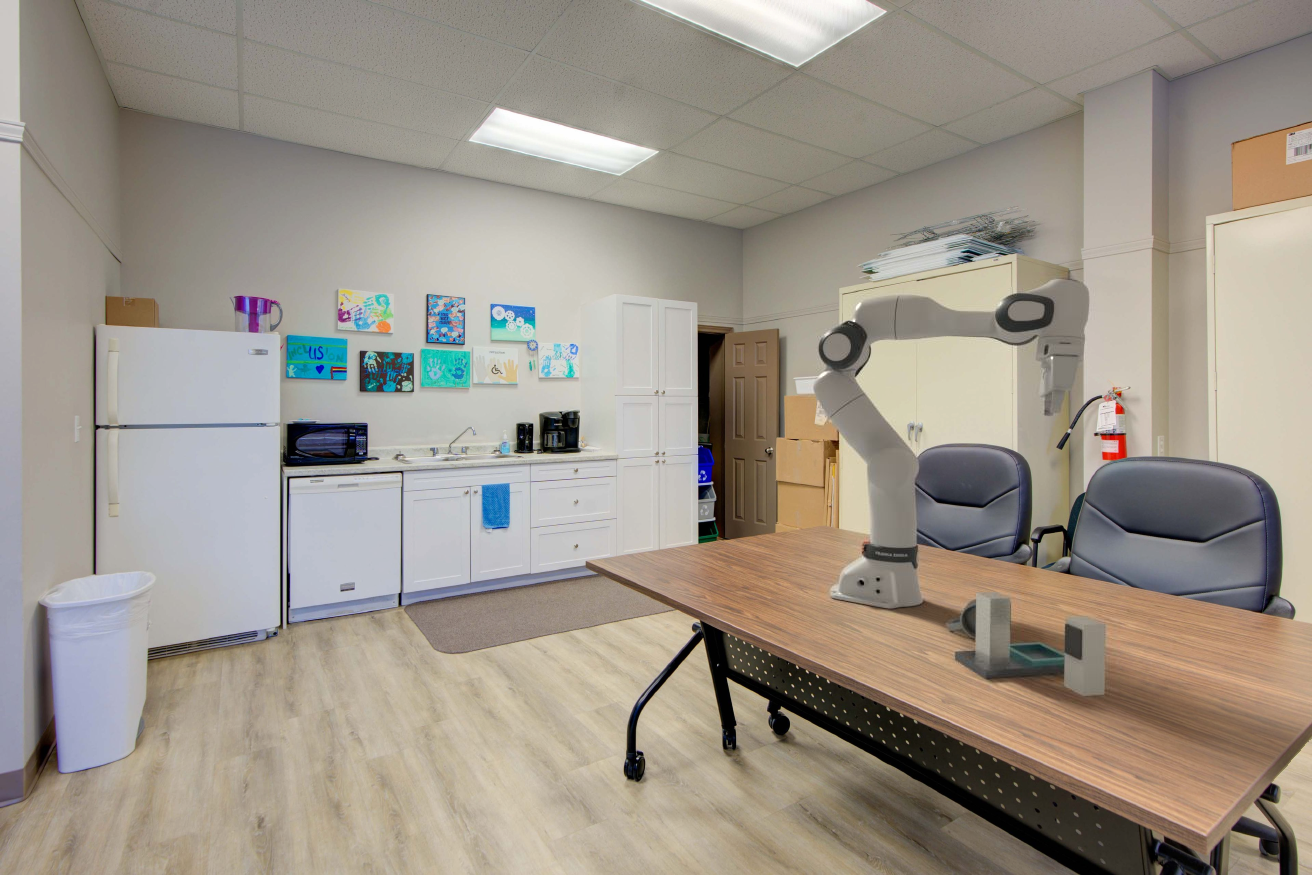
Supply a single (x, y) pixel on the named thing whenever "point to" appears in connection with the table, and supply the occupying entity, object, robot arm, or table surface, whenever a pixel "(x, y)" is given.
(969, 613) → the ceramic mug
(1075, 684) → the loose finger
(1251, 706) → the table surface
